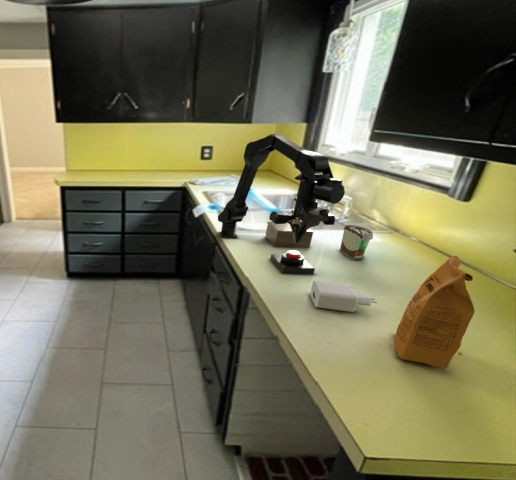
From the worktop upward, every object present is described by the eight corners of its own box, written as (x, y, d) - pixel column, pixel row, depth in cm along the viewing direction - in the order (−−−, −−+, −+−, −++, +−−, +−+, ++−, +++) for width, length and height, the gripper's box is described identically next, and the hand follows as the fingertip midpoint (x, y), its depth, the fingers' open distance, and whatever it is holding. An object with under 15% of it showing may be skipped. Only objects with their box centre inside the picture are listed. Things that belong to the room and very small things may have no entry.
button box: (270, 259, 130) (272, 249, 128) (298, 260, 130) (300, 249, 128) (282, 273, 119) (284, 262, 117) (313, 274, 119) (316, 263, 117)
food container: (373, 261, 128) (382, 235, 124) (356, 261, 128) (364, 235, 124) (353, 249, 140) (361, 224, 135) (337, 249, 140) (344, 224, 135)
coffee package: (443, 346, 83) (485, 258, 74) (451, 376, 74) (499, 280, 65) (391, 332, 88) (424, 248, 79) (392, 358, 79) (429, 267, 70)
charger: (379, 317, 95) (316, 308, 98) (367, 300, 103) (309, 293, 107) (384, 301, 93) (320, 293, 96) (372, 286, 101) (313, 279, 105)
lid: (266, 223, 150) (267, 221, 150) (299, 224, 150) (300, 222, 150) (277, 232, 139) (277, 230, 139) (313, 233, 139) (313, 231, 138)
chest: (265, 237, 152) (267, 224, 150) (297, 237, 152) (300, 224, 149) (274, 246, 142) (277, 233, 139) (309, 247, 141) (313, 233, 139)
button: (284, 254, 125) (285, 249, 124) (296, 254, 125) (297, 250, 124) (289, 259, 121) (290, 254, 120) (301, 259, 121) (302, 254, 120)
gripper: (286, 202, 107) (276, 251, 114) (350, 203, 107) (336, 252, 113) (273, 193, 117) (264, 239, 124) (332, 194, 117) (320, 240, 123)
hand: (296, 242), depth 121 cm, fingers closed
